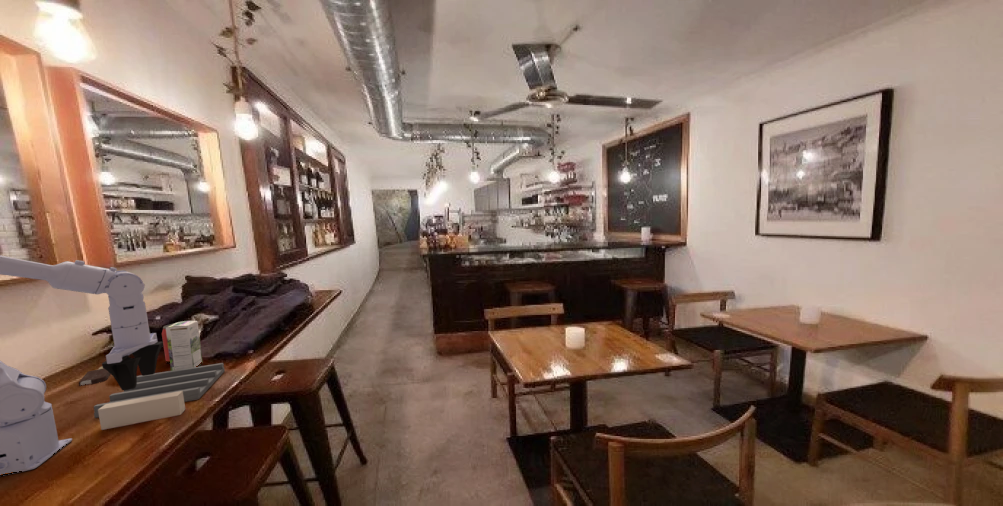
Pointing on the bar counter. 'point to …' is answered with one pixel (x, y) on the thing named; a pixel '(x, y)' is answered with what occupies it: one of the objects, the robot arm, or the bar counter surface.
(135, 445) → the bar counter surface
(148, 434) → the bar counter surface
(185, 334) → the syrup box
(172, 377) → the drying rack
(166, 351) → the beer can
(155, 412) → the clay strip
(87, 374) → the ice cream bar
